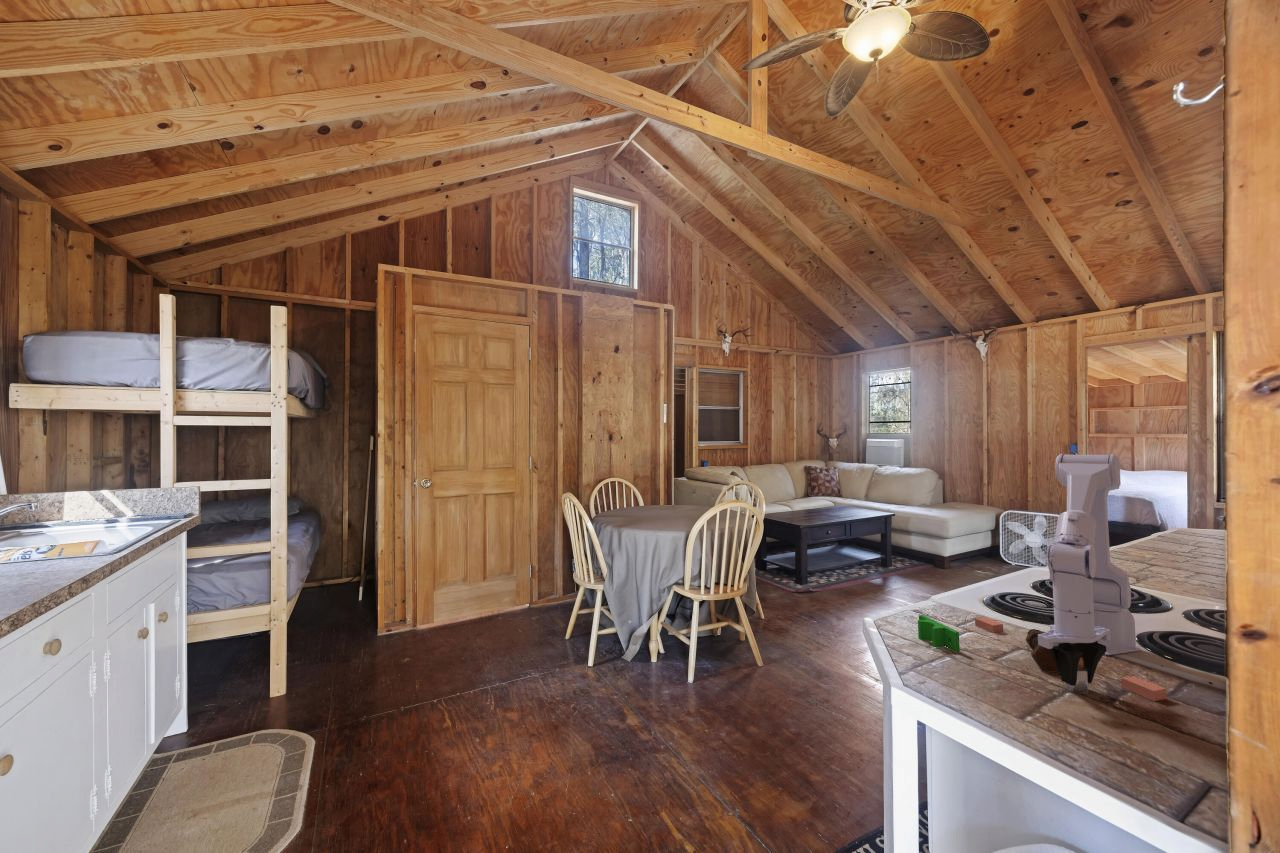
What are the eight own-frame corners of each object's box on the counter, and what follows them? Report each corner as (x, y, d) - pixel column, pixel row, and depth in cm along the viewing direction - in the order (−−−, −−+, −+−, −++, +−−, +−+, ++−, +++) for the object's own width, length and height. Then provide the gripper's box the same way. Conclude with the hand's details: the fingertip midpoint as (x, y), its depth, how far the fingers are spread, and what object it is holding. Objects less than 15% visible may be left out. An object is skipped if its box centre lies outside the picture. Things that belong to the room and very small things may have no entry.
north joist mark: (1134, 685, 95) (1133, 675, 95) (1166, 698, 90) (1166, 688, 90) (1121, 687, 94) (1121, 677, 94) (1153, 701, 89) (1153, 690, 89)
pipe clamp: (909, 635, 121) (908, 615, 122) (923, 633, 122) (922, 614, 122) (945, 654, 110) (944, 633, 111) (960, 652, 111) (959, 631, 111)
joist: (985, 624, 126) (984, 616, 126) (1003, 631, 121) (1003, 624, 121) (975, 625, 125) (974, 618, 125) (993, 633, 121) (992, 625, 121)
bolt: (1041, 652, 114) (1055, 679, 101) (1016, 638, 116) (1027, 662, 103) (1056, 632, 112) (1073, 656, 99) (1031, 617, 115) (1044, 639, 102)
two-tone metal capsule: (1074, 684, 96) (1073, 649, 96) (1092, 692, 93) (1091, 657, 93) (1061, 686, 95) (1059, 651, 95) (1079, 695, 92) (1077, 659, 92)
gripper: (1081, 598, 100) (1084, 667, 99) (1021, 605, 97) (1024, 676, 96) (1122, 610, 93) (1125, 684, 92) (1058, 618, 90) (1061, 695, 89)
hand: (1076, 681), depth 94 cm, fingers closed on two-tone metal capsule, 3 cm apart
